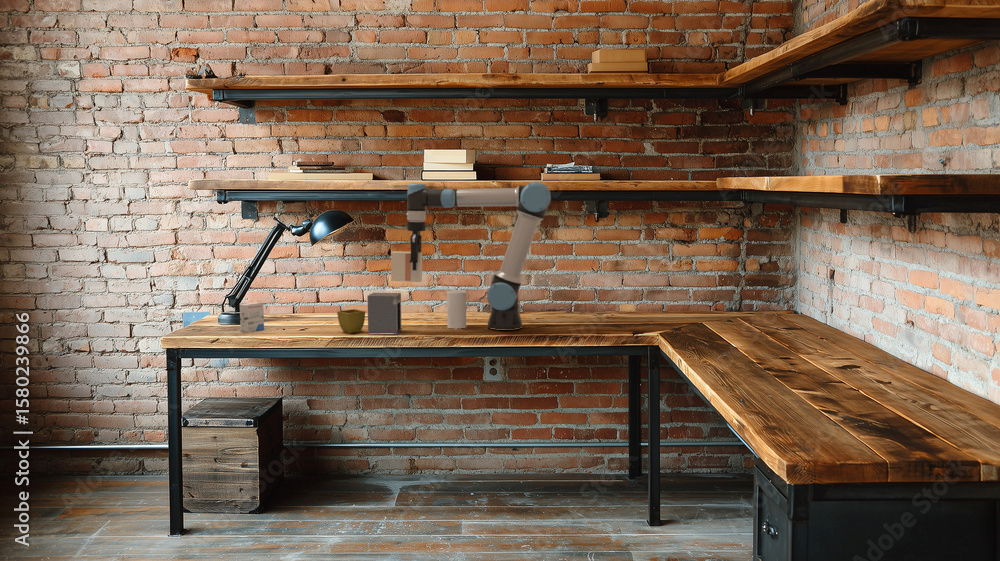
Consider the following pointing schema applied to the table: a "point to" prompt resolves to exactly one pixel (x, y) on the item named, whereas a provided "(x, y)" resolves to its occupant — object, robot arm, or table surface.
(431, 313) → the table surface
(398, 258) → the striped beige block
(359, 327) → the flower pot
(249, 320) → the ink box
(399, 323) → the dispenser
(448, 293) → the cup
